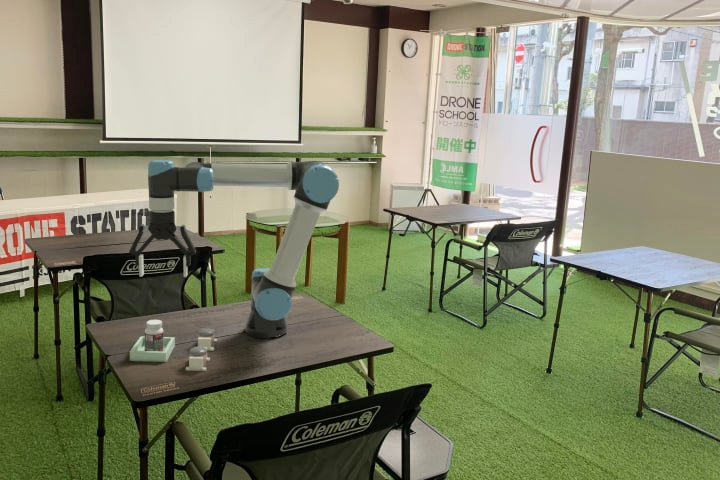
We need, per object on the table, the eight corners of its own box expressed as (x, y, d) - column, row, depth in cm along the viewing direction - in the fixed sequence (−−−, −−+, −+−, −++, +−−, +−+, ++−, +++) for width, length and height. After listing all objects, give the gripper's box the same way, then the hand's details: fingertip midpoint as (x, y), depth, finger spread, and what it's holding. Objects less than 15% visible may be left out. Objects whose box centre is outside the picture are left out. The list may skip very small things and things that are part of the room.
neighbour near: (207, 361, 197) (208, 347, 196) (205, 368, 192) (205, 353, 191) (191, 361, 197) (191, 346, 196) (188, 368, 192) (188, 353, 191)
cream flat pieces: (217, 340, 214) (217, 329, 213) (205, 370, 191) (206, 358, 190) (199, 340, 214) (199, 329, 213) (185, 370, 190) (185, 358, 189)
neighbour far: (215, 342, 213) (215, 328, 212) (213, 348, 208) (213, 334, 207) (199, 342, 212) (199, 328, 211) (197, 348, 207) (197, 333, 206)
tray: (174, 345, 208) (174, 337, 207) (166, 361, 195) (166, 352, 194) (140, 344, 207) (140, 336, 206) (129, 360, 194) (129, 351, 193)
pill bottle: (157, 356, 197) (157, 326, 195) (141, 353, 198) (141, 323, 196) (166, 349, 203) (166, 320, 201) (150, 346, 204) (150, 317, 202)
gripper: (204, 208, 200) (205, 272, 205) (123, 207, 197) (126, 272, 202) (201, 213, 193) (202, 279, 198) (117, 211, 190) (120, 278, 195)
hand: (163, 275), depth 200 cm, fingers open, 13 cm apart
